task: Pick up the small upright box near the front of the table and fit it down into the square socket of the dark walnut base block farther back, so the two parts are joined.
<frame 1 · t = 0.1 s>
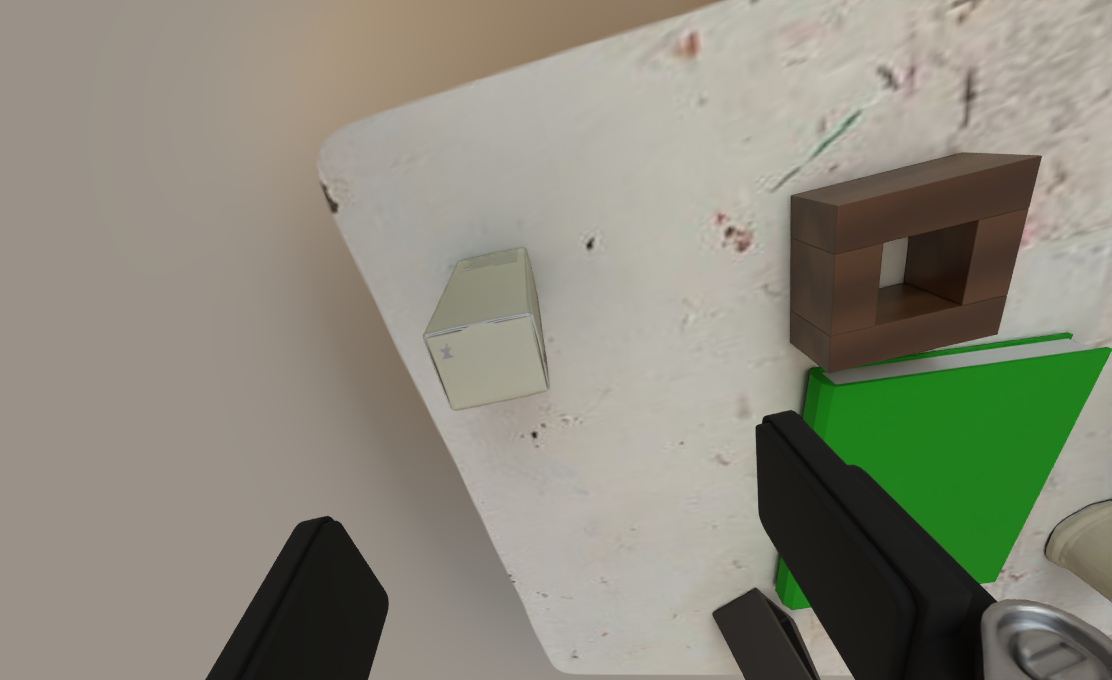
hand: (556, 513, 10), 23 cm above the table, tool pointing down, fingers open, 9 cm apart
lamp: (1079, 530, 48), on the table
book: (897, 475, 42), on the table
phone stand: (752, 614, 51), on the table
box: (501, 279, 31), on the table
socket: (868, 255, 32), on the table
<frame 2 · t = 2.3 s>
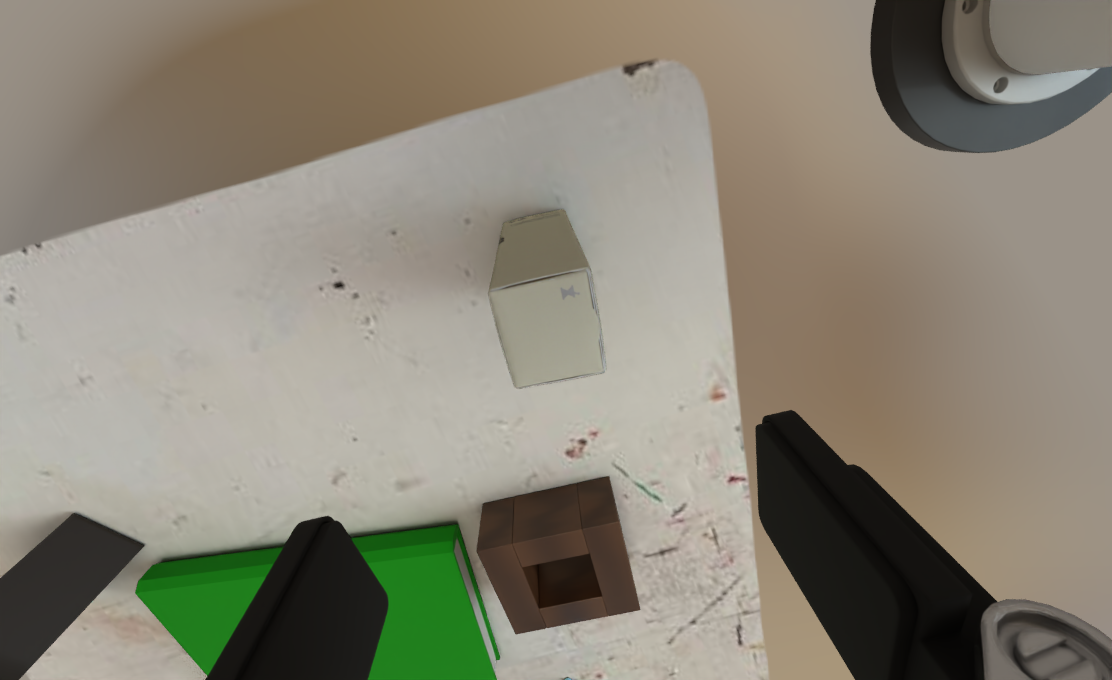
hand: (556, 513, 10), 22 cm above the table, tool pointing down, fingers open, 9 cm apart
book: (348, 610, 45), on the table
phone stand: (91, 551, 39), on the table
box: (542, 252, 29), on the table
socket: (559, 533, 41), on the table
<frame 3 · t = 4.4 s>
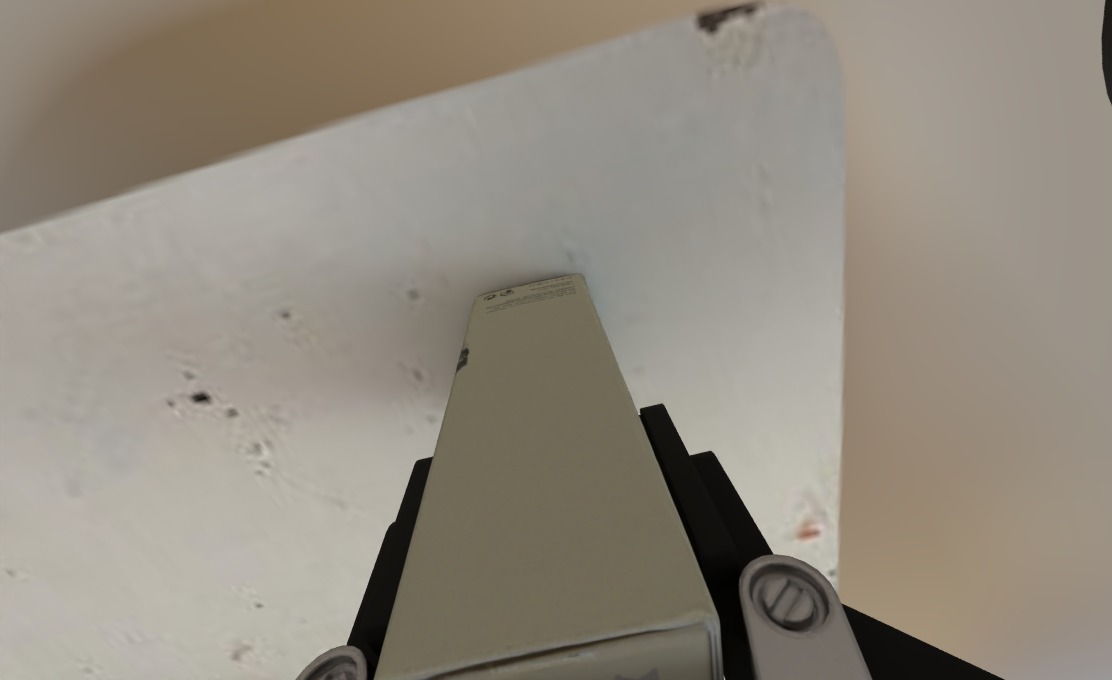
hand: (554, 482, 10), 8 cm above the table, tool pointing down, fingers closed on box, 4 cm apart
box: (542, 340, 18), on the table, touching gripper
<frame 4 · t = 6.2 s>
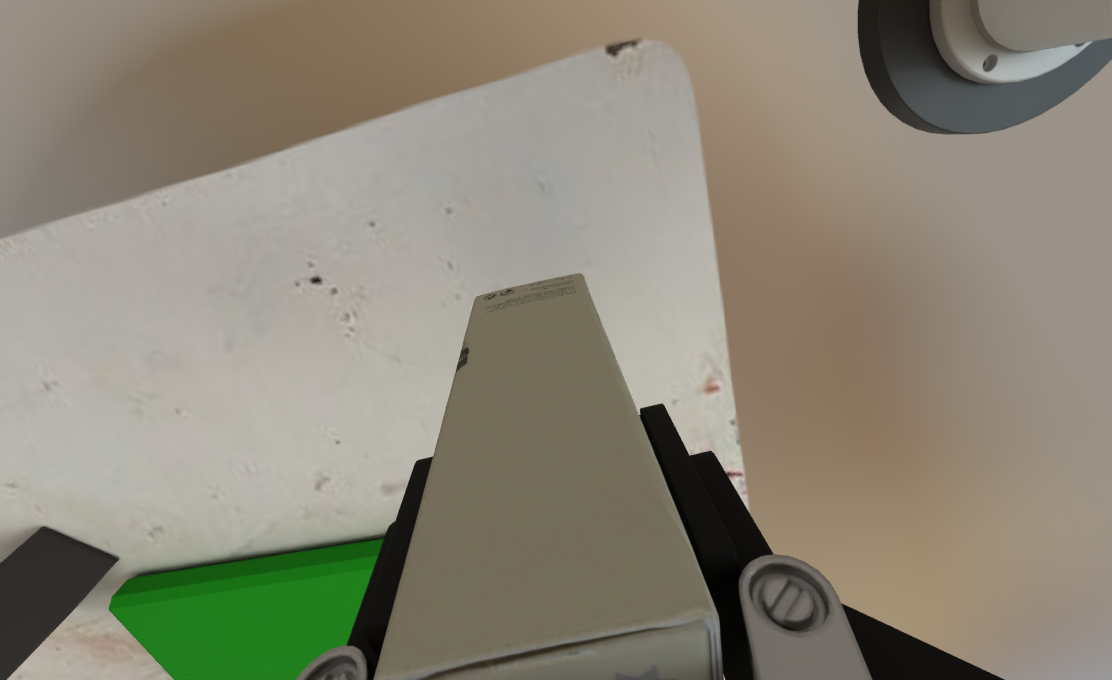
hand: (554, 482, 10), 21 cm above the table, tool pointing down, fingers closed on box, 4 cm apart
book: (335, 622, 43), on the table
phone stand: (62, 567, 38), on the table
box: (542, 339, 18), point 13 cm above the table, touching gripper
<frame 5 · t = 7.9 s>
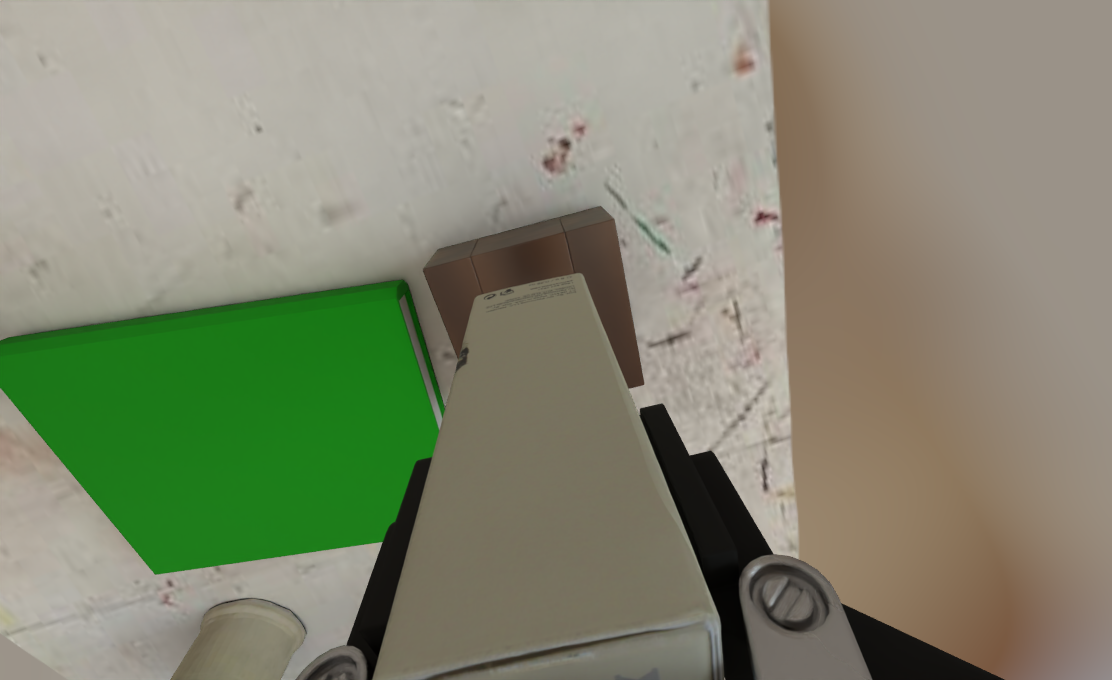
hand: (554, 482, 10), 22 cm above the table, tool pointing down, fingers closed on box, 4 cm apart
lamp: (254, 619, 46), on the table
book: (278, 428, 36), on the table
box: (542, 339, 18), point 15 cm above the table, touching gripper
socket: (540, 304, 32), on the table
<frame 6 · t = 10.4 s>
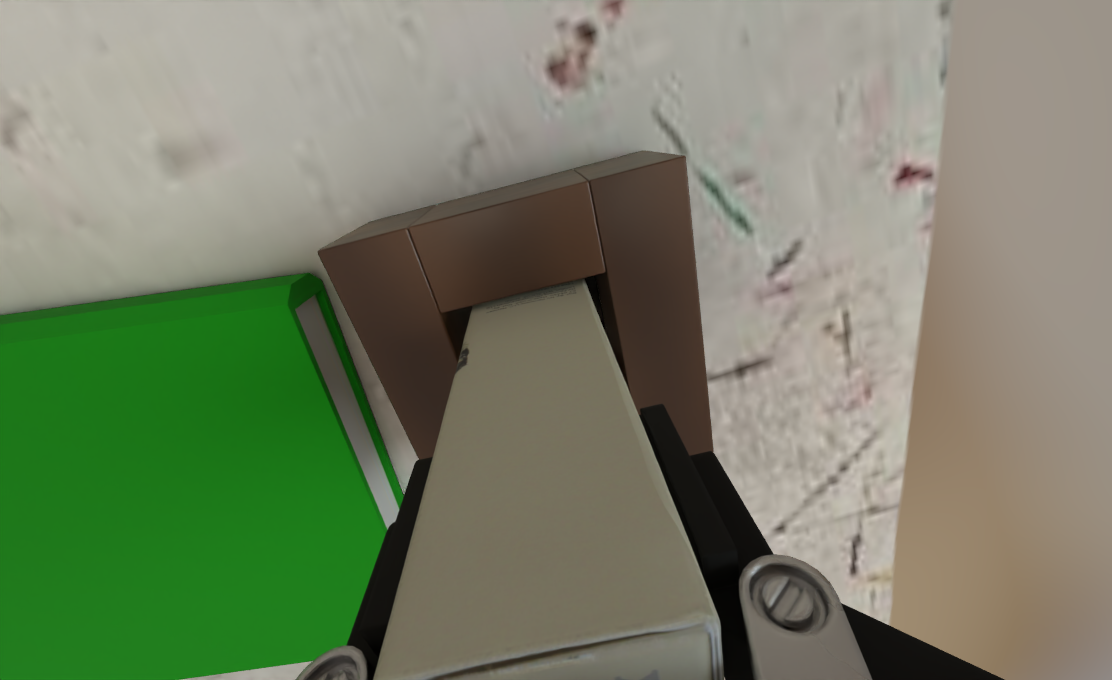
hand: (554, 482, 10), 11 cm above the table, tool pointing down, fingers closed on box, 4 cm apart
book: (140, 498, 24), on the table
box: (542, 340, 18), point 3 cm above the table, touching gripper
socket: (539, 314, 20), on the table
when the fingers open (8 cm above the table, at t = 11.7 s): box stays where it is, resting in socket.
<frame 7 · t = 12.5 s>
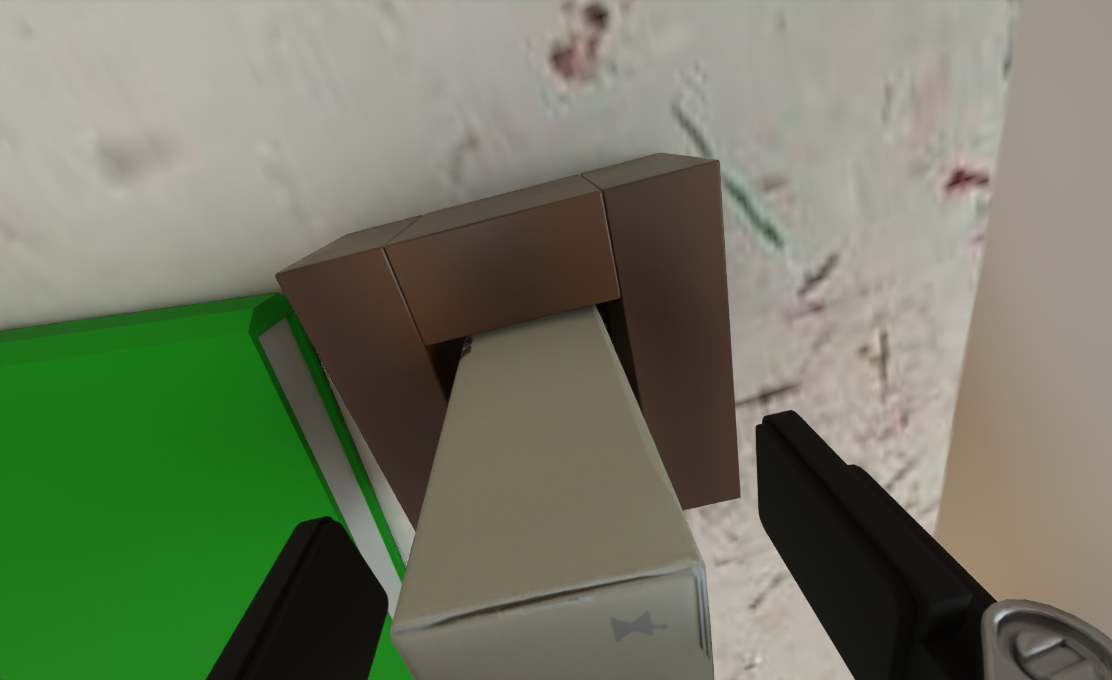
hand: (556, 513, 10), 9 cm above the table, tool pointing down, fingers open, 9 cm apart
book: (98, 537, 21), on the table
box: (542, 333, 18), resting in socket
socket: (541, 337, 18), on the table
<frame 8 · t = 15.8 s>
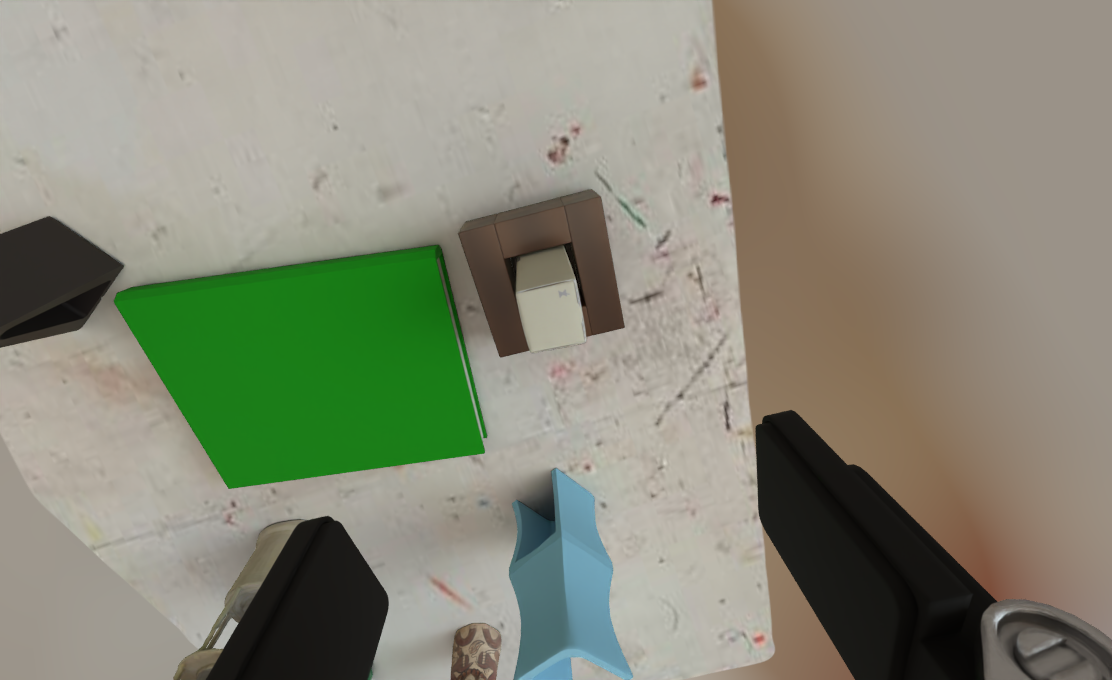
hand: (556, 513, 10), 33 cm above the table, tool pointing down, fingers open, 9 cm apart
lamp: (300, 539, 55), on the table
book: (332, 367, 45), on the table
phone stand: (69, 274, 39), on the table
vase: (555, 500, 55), on the table
box: (544, 265, 41), resting in socket
figurine: (478, 636, 66), on the table
socket: (544, 267, 41), on the table
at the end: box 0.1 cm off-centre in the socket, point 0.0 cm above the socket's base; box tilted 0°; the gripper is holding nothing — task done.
